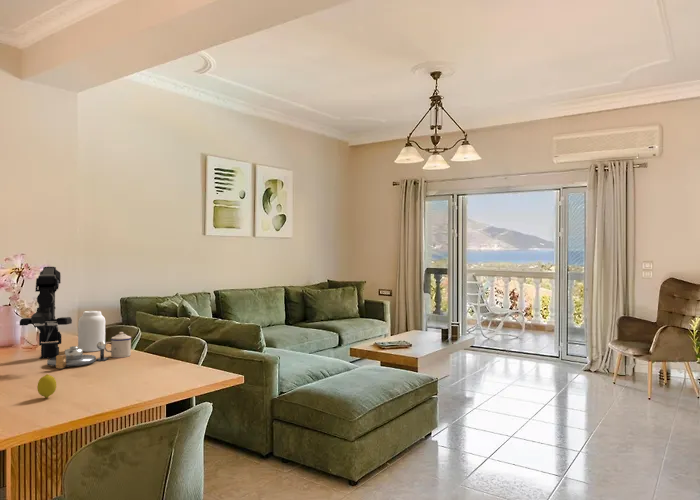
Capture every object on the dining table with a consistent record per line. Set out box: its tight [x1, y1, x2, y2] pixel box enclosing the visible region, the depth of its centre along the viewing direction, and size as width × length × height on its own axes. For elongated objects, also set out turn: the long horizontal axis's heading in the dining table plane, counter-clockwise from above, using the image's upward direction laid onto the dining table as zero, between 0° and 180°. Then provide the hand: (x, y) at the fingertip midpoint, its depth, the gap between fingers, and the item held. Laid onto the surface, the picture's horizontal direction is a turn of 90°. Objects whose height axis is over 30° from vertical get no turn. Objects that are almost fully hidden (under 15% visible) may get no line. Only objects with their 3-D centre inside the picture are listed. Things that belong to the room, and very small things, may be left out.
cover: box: [64, 345, 84, 360], centre depth 228 cm, size 7×7×5 cm
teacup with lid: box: [104, 331, 132, 359], centre depth 247 cm, size 12×9×12 cm
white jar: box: [77, 310, 106, 353], centre depth 263 cm, size 12×12×20 cm
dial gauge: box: [95, 342, 109, 362], centre depth 237 cm, size 4×4×9 cm
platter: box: [46, 354, 97, 369], centre depth 227 cm, size 19×22×5 cm
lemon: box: [36, 373, 57, 399], centre depth 173 cm, size 6×6×8 cm
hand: (45, 341), depth 217 cm, fingers closed
